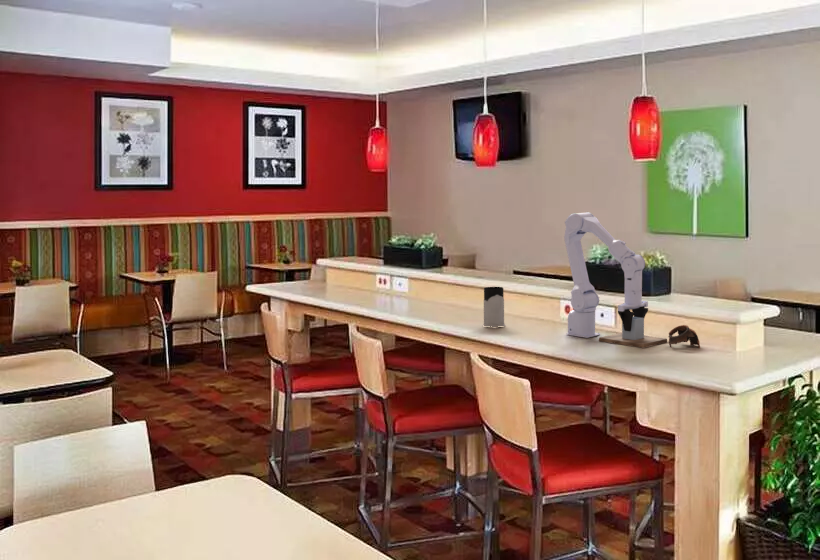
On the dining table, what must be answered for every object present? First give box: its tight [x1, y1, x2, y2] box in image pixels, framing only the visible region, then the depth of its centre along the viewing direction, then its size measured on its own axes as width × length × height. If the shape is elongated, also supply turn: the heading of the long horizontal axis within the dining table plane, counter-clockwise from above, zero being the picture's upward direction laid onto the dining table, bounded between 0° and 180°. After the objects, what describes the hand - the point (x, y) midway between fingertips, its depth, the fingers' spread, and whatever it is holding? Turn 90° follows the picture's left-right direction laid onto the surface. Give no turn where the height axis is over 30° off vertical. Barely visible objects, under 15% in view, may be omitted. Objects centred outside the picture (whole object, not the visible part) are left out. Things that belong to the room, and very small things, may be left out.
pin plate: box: [598, 332, 668, 349], centre depth 297 cm, size 18×14×5 cm
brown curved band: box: [668, 324, 701, 349], centre depth 288 cm, size 12×10×8 cm
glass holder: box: [482, 286, 506, 327], centre depth 336 cm, size 9×14×15 cm, turn 14°
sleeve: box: [621, 316, 645, 340], centre depth 297 cm, size 5×5×7 cm
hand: (632, 329), depth 297 cm, fingers open, 6 cm apart
